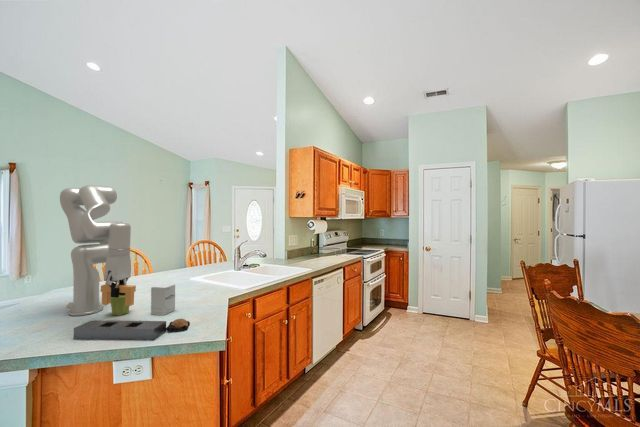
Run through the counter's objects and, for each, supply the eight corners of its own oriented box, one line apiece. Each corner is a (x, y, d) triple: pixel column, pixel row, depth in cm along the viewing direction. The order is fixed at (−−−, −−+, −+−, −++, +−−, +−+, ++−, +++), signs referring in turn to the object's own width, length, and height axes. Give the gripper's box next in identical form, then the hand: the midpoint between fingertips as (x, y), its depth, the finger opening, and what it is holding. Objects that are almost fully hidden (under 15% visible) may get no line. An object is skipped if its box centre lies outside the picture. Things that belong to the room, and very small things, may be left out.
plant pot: (111, 311, 136) (111, 293, 136) (134, 309, 140) (134, 291, 140) (105, 318, 128) (105, 298, 128) (130, 315, 131) (130, 296, 131)
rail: (73, 339, 106) (73, 328, 106) (91, 330, 114) (91, 320, 114) (153, 340, 105) (153, 329, 105) (166, 331, 113) (166, 321, 113)
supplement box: (164, 315, 131) (164, 287, 131) (150, 314, 132) (150, 286, 132) (175, 310, 138) (175, 284, 138) (162, 309, 140) (162, 283, 140)
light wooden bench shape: (100, 304, 120) (100, 285, 120) (105, 302, 123) (105, 284, 123) (130, 306, 120) (131, 287, 119) (135, 304, 122) (135, 285, 122)
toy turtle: (168, 325, 120) (168, 317, 120) (190, 323, 123) (190, 314, 123) (164, 335, 110) (164, 325, 110) (188, 332, 113) (188, 322, 113)
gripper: (124, 249, 129) (123, 290, 129) (94, 255, 113) (93, 301, 113) (140, 250, 129) (139, 291, 129) (113, 256, 113) (112, 302, 113)
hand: (118, 295), depth 121 cm, fingers closed on light wooden bench shape, 2 cm apart
